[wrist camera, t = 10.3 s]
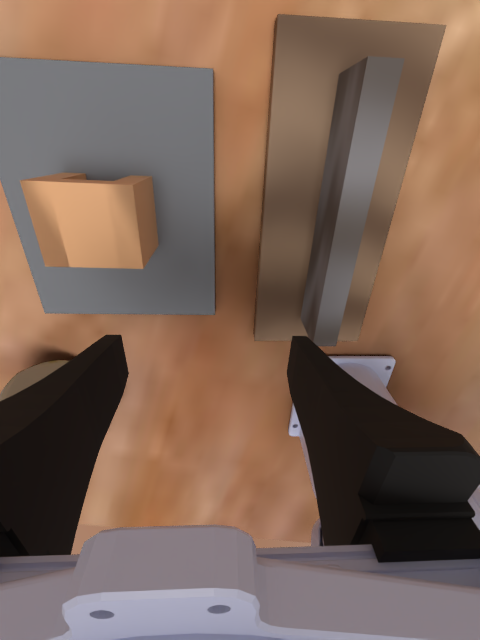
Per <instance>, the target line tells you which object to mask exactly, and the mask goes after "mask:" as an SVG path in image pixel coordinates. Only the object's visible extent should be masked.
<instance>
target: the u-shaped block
mask: <svg viewBox="0 0 480 640" xmlns="http://www.w3.org/2000/svg"><path fill="white" fill-rule="evenodd" d="M20 183H21V187H22V190H23V193H24V197H25V200H26V203H27V207H28V210H29V213H30V217H31V220H32V223H33V227H34V230H35V234H36V237H37V240H38V244H39V247H40V250H41V254H42V257H43V260H44V264H45V267H83V268H125V269H144V267H145V266H146V264H147V262H148V261H149V259H150V258H151V256H152V255H153V253H154V252H155V250H156V249H157V247H158V246H159V244H158V234H157V223H156V213H155V202H154V192H153V181H152V176H134V175H130V176H127V177H124V178H121V179H118V180H115V181H101V180H87V179H86V174H85V173H58V174H53V175H47V176H42V177H36V178H30V179H25V180H20Z"/></svg>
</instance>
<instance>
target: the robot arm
mask: <svg viewBox="0 0 480 640" xmlns="http://www.w3.org/2000/svg"><path fill="white" fill-rule="evenodd" d="M395 362H396V361H395V359H394V358H393V357H392V356H327V355H326V354H325V353H324V352H323V351H322V350H321V349H320V348H319V347H318V346H317V345H316V344H315V343H313V342H312V341H311V340H310V339H309V338H308V337H307V336H292V341H291V348H290V355H289V362H288V369H287V377H288V383H289V389H290V394H291V397H292V401H293V405H292V411H291V417H290V423H289V428H288V432H289V435H290V436H299V437H300V441H301V445H302V449H303V453H304V457H305V461H306V464H307V468H308V472H309V476H310V480H311V484H312V488H313V491H314V494H315V497H316V499H317V504H318V510H319V516H320V518H319V519H318V520H317V521H316V522H315V524H314V525H313V529H312V536H311V546H310V547H281V548H256V546H255V544H254V541H253V539H252V537H251V536H250V535H249V534H248V533H246V532H244V531H242V530H240V529H238V528H236V527H232V526H223V525H187V526H153V527H120V528H115V529H109V530H104V531H101V532H99V533H97V534H96V535H94V536H93V537H91V538H90V539H88V540H87V541H85V542H84V544H83V547H82V550H81V553H80V554H77V555H71V551H72V546H73V542H74V538H75V533H76V530H77V526H78V522H79V518H80V514H81V510H82V507H83V503H84V499H85V496H86V492H87V489H88V485H89V482H90V478H91V475H92V472H93V468H94V465H95V462H96V459H97V456H98V452H99V450H100V447H101V445H102V442H103V440H104V437H105V435H106V433H107V430H108V428H109V426H110V423H111V421H112V419H113V417H114V414H115V412H116V410H117V407H118V405H119V403H120V400H121V398H122V395H123V392H124V389H125V385H126V382H127V378H128V374H129V373H128V367H127V362H126V357H125V352H124V347H123V342H122V337H121V335H105V336H104V337H102V338H101V339H99V340H98V341H96V342H95V343H94V344H92V345H91V346H90V347H88V348H87V349H85V350H84V351H83V352H81V353H80V354H79V355H77V356H76V357H74V358H73V359H72V360H70V361H69V362H67V363H66V364H64V365H63V366H61V367H60V368H58V369H57V370H55V371H54V372H52V373H51V374H49V375H48V376H46V377H45V378H43V379H41V380H40V381H38V382H36V383H34V384H33V385H31V386H29V387H27V388H25V389H24V390H22V391H20V392H18V393H16V394H14V395H12V396H10V397H8V398H6V399H4V400H2V401H0V640H480V456H479V455H478V454H477V452H476V451H475V450H474V449H473V447H472V446H471V445H470V444H469V443H468V441H467V440H466V439H465V438H464V437H463V435H462V434H459V433H457V432H454V431H452V430H449V429H447V428H444V427H442V426H439V425H437V424H435V423H432V422H430V421H427V420H425V419H423V418H421V417H419V416H417V415H415V414H413V413H411V412H409V411H407V410H405V409H403V408H401V407H399V406H398V405H397V404H396V402H395V400H394V399H393V397H392V396H391V394H390V393H389V391H388V390H387V388H386V387H387V384H388V381H389V379H390V376H391V373H392V371H393V368H394V365H395ZM387 366H388V367H387ZM385 367H386V368H385ZM294 424H295V425H294Z"/></svg>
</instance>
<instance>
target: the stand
mask: <svg viewBox="0 0 480 640" xmlns="http://www.w3.org/2000/svg"><path fill="white" fill-rule="evenodd" d="M445 29H446V25H438V24H422V23H407V22H391V21H376V20H361V19H345V18H330V17H315V16H299V15H284V14H278V16H277V18H276V20H275V28H274V42H273V57H272V72H271V86H270V101H269V115H268V130H267V144H266V159H265V174H264V188H263V203H262V217H261V232H260V246H259V261H258V275H257V290H256V305H255V319H254V340H255V341H292V336H307V337H308V338H309V339H310V340H311V341H312V342H313V343H315V344H316V345H317V346H336V344H337V341H358V338H359V335H360V331H361V327H362V324H363V320H364V317H365V313H366V310H367V306H368V302H369V299H370V295H371V292H372V288H373V285H374V281H375V278H376V274H377V270H378V267H379V263H380V260H381V256H382V253H383V249H384V246H385V242H386V238H387V235H388V231H389V228H390V224H391V221H392V217H393V214H394V210H395V206H396V203H397V199H398V196H399V192H400V189H401V185H402V182H403V178H404V174H405V171H406V167H407V164H408V160H409V157H410V153H411V150H412V146H413V142H414V139H415V135H416V132H417V128H418V125H419V121H420V118H421V114H422V110H423V107H424V103H425V100H426V96H427V93H428V89H429V85H430V82H431V78H432V75H433V71H434V68H435V64H436V61H437V57H438V53H439V50H440V46H441V43H442V39H443V36H444V32H445Z"/></svg>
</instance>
